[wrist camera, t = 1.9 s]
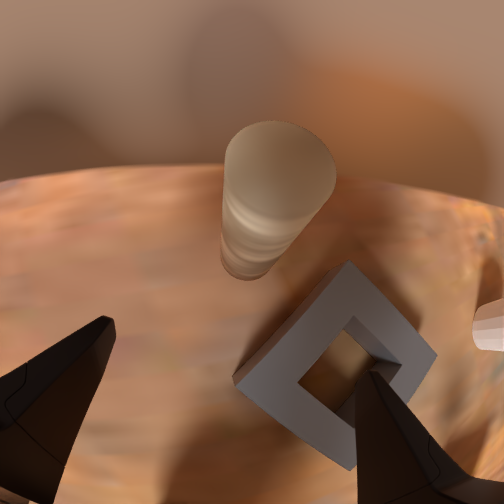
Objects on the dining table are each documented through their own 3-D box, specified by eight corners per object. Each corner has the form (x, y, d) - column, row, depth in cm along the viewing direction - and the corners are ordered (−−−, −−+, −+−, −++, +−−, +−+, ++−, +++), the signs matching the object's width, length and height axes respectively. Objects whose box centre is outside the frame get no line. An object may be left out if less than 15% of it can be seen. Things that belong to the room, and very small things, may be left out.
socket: (410, 354, 22) (437, 355, 19) (331, 453, 19) (349, 471, 15) (329, 270, 24) (349, 259, 20) (232, 376, 20) (235, 386, 17)
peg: (284, 254, 24) (355, 169, 11) (248, 291, 22) (289, 240, 9) (246, 219, 24) (277, 106, 11) (209, 254, 23) (200, 159, 10)
